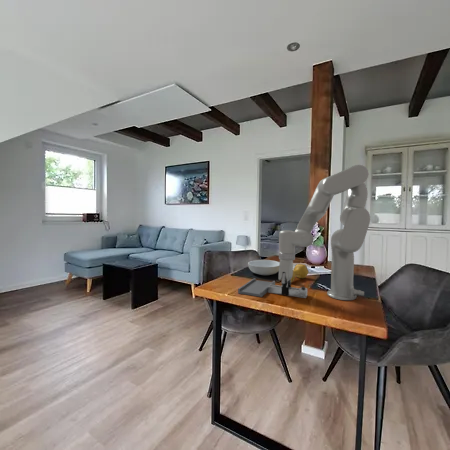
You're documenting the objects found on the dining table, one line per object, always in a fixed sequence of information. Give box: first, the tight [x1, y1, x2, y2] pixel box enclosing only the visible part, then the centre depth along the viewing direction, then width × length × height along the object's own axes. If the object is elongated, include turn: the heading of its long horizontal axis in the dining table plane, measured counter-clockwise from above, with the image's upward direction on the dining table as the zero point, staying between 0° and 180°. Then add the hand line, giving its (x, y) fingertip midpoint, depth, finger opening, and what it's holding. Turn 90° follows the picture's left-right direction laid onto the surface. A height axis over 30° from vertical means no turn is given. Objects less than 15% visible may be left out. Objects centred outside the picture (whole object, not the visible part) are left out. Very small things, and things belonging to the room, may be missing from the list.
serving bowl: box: [247, 259, 280, 276], centre depth 163 cm, size 21×21×7 cm
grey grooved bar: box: [267, 284, 308, 299], centre depth 123 cm, size 18×4×4 cm, turn 63°
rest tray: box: [237, 277, 276, 298], centre depth 131 cm, size 12×22×2 cm, turn 153°
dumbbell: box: [280, 263, 309, 284], centre depth 148 cm, size 19×9×8 cm, turn 133°
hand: (286, 293), depth 124 cm, fingers closed on grey grooved bar, 4 cm apart
